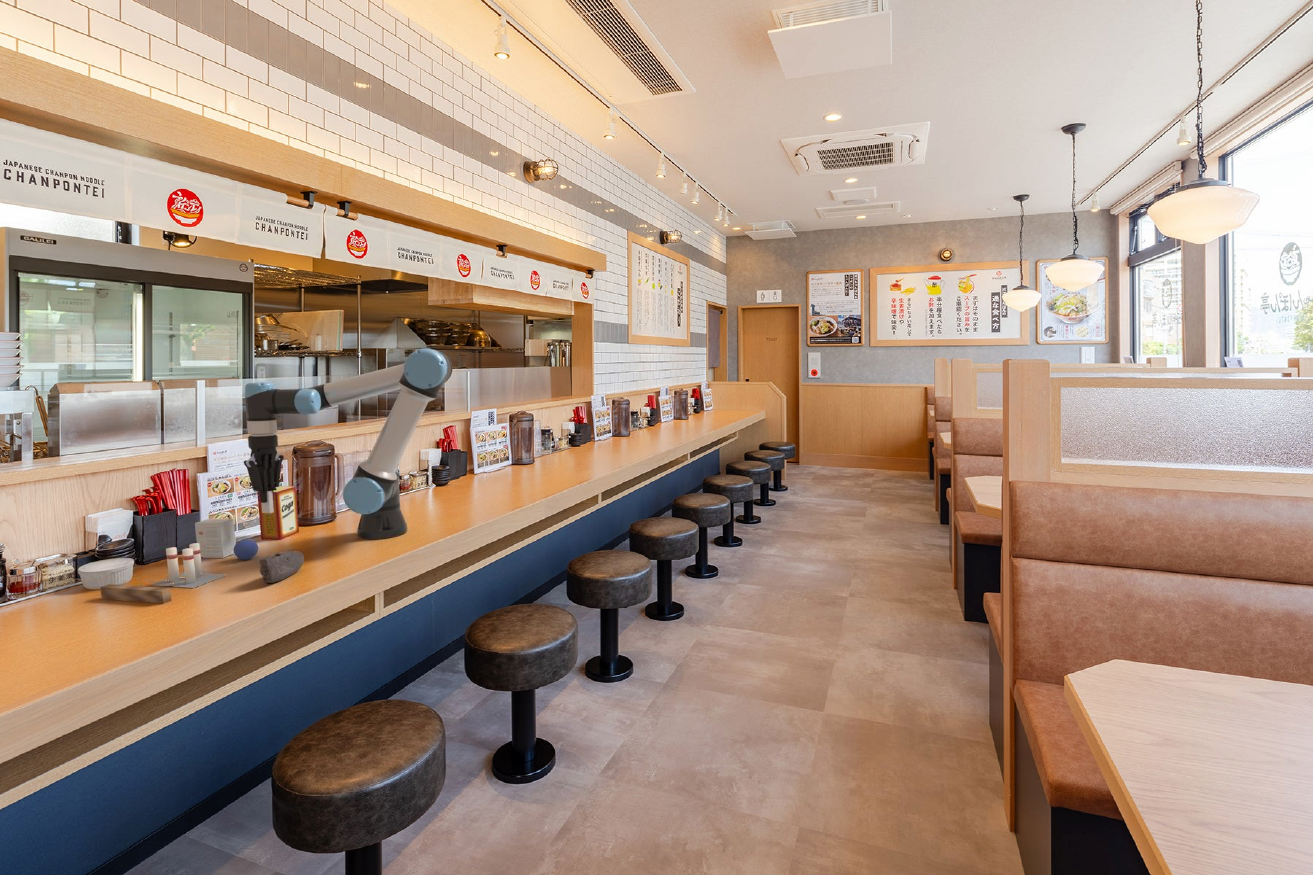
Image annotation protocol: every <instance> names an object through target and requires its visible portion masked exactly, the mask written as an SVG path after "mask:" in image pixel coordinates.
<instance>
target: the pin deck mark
mask: <svg viewBox="0 0 1313 875" xmlns="http://www.w3.org/2000/svg"><path fill="white" fill-rule="evenodd" d="M202 575H203V576H202V577H199V578H196V582H195V583H192V584H186V583H185V578H180V581H179V582H175V583H174V584H172V583H171V584H170V583H169V581H168V580H169V577H168V578H165V579H163V581H162V580H160V581H157V582H154V583H151V584H149V587H152V586H153V587H164V586H173V587H172V588H178V587H180V588H181V589H195V588H197V586H198V587H200V586H203V585H205V583H206V584H208V583H210V582H214V581H216V580H218V579H219V580H220V579H221V578H224V577H226V576H227V574H221V573H220V574H217V573H216V574H215V573H203V572H202ZM179 577H185V573H184V572H182V573H179ZM165 580H167V581H165ZM213 580H214V581H213Z"/></svg>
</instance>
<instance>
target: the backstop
mask: <svg viewBox="0 0 1313 875" xmlns="http://www.w3.org/2000/svg"><path fill="white" fill-rule="evenodd" d="M99 590H100V596H101V600H111V601H124V602H135V603H136V602H137V603H139V602H140V603H149V602H150V603H152V604H161V603H164V604H166V603H165V602H167V603H169V602H171V601H172V594H171V587H157V586H153V587H152V586H139V585H127V584H122V585H113V584H108V585H105V586H102V587H100V589H99ZM150 603H149V604H150Z"/></svg>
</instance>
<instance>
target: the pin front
mask: <svg viewBox="0 0 1313 875" xmlns="http://www.w3.org/2000/svg"><path fill="white" fill-rule="evenodd" d="M188 546H189V548H193V554H194V566H195V576H196V578H199V577H202V576H203V575H202V573H203V567H202V566H203V564H202V558H201V554H200V553H201V552H200V544H199V543H197V542H196V543H195V542H194V543H190V544H188Z"/></svg>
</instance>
